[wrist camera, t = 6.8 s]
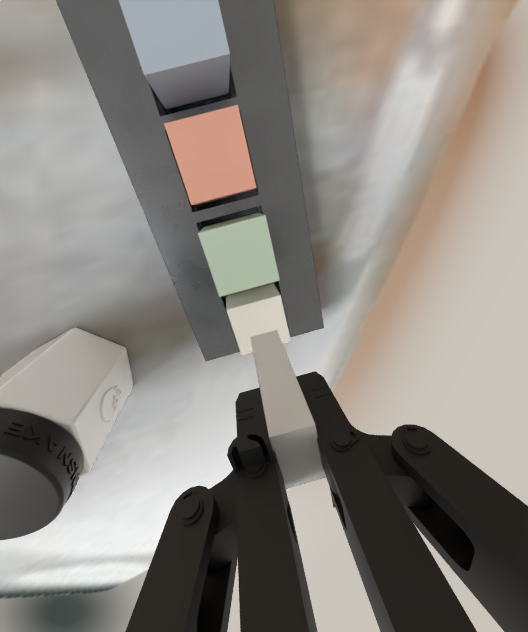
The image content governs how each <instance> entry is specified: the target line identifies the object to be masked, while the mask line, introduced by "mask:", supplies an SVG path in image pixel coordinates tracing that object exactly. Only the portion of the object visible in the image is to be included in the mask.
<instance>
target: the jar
mask: <svg viewBox="0 0 528 632" xmlns="http://www.w3.org/2000/svg"><path fill="white" fill-rule="evenodd" d="M132 388H133V380H132V375H131V370H130V365H129V360H128V355H127V350H126V348H125V347H124V346H121V345H119V344H116V343H113V342H111V341H108V340H106V339H103V338H101V337H98V336H96V335H93V334H91V333H89V332H86V331H84V330H81V329H79V328H72V329H70V330H69V331H67V332H65V333H63V334H62V335H60V336H58V337H56V338H55V339H53V340H51V341H49V342H47V343H46V344H44V345H42V346H40V347H39V348H37V349H35V350H34V351H32V352H31V353H30V354H28V355H27V356H26V357H24V358H23V359H22V360H20V361H19V362H18V363H16V364H15V365H14V366H12V367H11V368H10V369H9V370H7V371H6V372H5V373H3V374H2V375H1V376H0V540H6V539H12V538H17V537H21V536H24V535H27V534H30V533H33V532H35V531H38V530H40V529H41V528H43V527H45V526H46V525H48V524H49V523H50V522H52V521H53V520H54V519H55V518H56V517H57V516H58V514H59V513H60V511H61V510H62V508H63V506H64V504H65V503H66V502H67V501H68V499H69V497H70V496H71V494H72V492H73V490H74V488H75V486H76V485H77V481H78V479H79V477H80V476H82V475H84V474H86V473H88V472H89V471H90V470H91V468H92V466H93V464H94V462H95V460H96V458H97V456H98V454H99V452H100V450H101V448H102V446H103V444H104V443H105V441H106V439H107V437H108V435H109V433H110V431H111V429H112V427H113V425H114V423H115V421H116V419H117V417H118V415H119V413H120V411H121V409H122V407H123V405H124V403H125V401H126V399H127V397H128V395H129V393H130V391H131V390H132Z"/></svg>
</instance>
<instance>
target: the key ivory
mask: <svg viewBox="0 0 528 632" xmlns="http://www.w3.org/2000/svg"><path fill="white" fill-rule="evenodd" d="M226 310H227V313H228V316H229V319H230V322H231V325H232V328H233V331H234V334H235V337H236V340H237V343H238V346H239V349H240V352H241V355H246V354H249V353H253V348H252V343H251V338H250V337H252V336H256V335H259V334H263V333H267V332H270V331H274V330H277V332H278V334H279V337H280V339H281V342H282V344H284V343H288V342H291V339H290V335H289V330H288V326H287V321H286V317H285V312H284V308H283V304H282V299H281V295H280V293H279V292H278V290H277V288H276V287H275V285H274V283H273V282H272V283H268V284H265V285H261V286H258V287H254V288H250V289H247V290H243V291H240V292H236V293H232V294H229V295H226Z"/></svg>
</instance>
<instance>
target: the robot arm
mask: <svg viewBox="0 0 528 632" xmlns="http://www.w3.org/2000/svg"><path fill="white" fill-rule="evenodd" d="M250 338H251V343H252V348H253V354H254V359H255V364H256V370H257V375H258V381H259V386H260V388H257V389H253V390H250V391H246V392H242V393H240V394H239V396H238V398H237V401H236V421H237V438H235V439H234V440H233V442H232V443H231V445H230V447H229V449H228V455H227V456H228V458H229V461H230V463H231V465H232V467H233V471H232V472H231V473H230V474H229V475H228V476H227V477H226V478H225V479H224V480H222V481H221V482H219V483H218V484H216V485H215V486H213V487H212V488H210V489H207V488H206V487H203V486H196V487H192V488H190V489H188V490H186V491H185V492H183V493H182V494H181V495H180V497H179V498H178V499H177V500H176V501H175V503H174V505H173V507H172V509H171V511H170V513H169V516H168V519H167V521H166V524H165V527H164V529H163V532H162V535H161V538H160V540H159V543H158V546H157V548H156V551H155V554H154V556H153V559H152V562H151V564H150V567H149V570H148V573H147V575H146V578H145V581H144V583H143V586H142V589H141V592H140V594H139V597H138V600H137V602H136V605H135V608H134V610H133V613H132V616H131V619H130V621H129V624H128V627H127V629H126V632H227V629H228V621H229V614H230V607H231V600H232V593H233V586H234V579H235V572H236V565H237V558H238V573H239V600H240V625H241V626H240V628H241V632H317V628H316V623H315V619H314V614H313V609H312V605H311V600H310V595H309V591H308V586H307V581H306V577H305V572H304V568H303V563H302V558H301V554H300V549H299V545H298V540H297V536H296V531H295V526H294V521H293V517H292V512H291V508H290V505H289V501H288V498H287V493H286V489H288V488H291V487H294V486H297V485H301V484H305V483H308V482H312V481H315V480H318V479H322V478H325V477H327V480H328V483H329V485H330V490H331V496H332V501H333V507H336V509H337V512H338V515H339V517H340V520H341V523H342V526H343V529H344V531H345V534H346V537H347V540H348V543H349V545H350V548H351V551H352V553H353V556H354V559H355V562H356V565H357V568H358V570H359V573H360V576H361V579H362V581H363V584H364V587H365V590H366V592H367V595H368V598H369V601H370V603H371V606H372V609H373V612H374V614H375V617H376V620H377V623H378V626H379V629H380V631H381V632H477V631H476V629H475V628H474V626H473V624H472V622H471V621H470V619H469V617H468V616H467V614H466V612H465V611H464V609H463V607H462V606H461V604H460V602H459V600H458V599H457V597H456V595H455V594H454V592H453V590H452V589H451V587H450V585H449V583H448V581H447V580H446V578H445V576H444V575H443V573H442V571H441V570H440V568H439V566H438V564H437V563H436V561H435V559H434V558H433V556H432V554H431V552H430V551H429V549H428V547H427V546H426V544H425V542H424V541H423V539H422V537H421V536H420V534H419V532H418V530H417V529H416V527H417V528H418V529H419V530H420V531H421V533H422V534H423V535H424V536H425V537H426V538H427V540H428V541H429V542H430V543H431V545H432V546H433V547H434V548H435V549H436V550H437V552H438V553H439V554H440V555H441V556H442V558H443V559H444V560H445V561H446V562H447V564H448V565H449V566H450V567H451V568H452V570H453V571H454V572H455V573H456V574H457V576H458V577H459V578H460V579H461V580H462V581H463V583H464V584H465V585H466V586H467V587H468V588H469V590H470V591H471V592H472V593H473V595H474V596H475V597H476V598H477V599H478V600H479V602H480V603H481V604H482V605H483V606H484V607H485V609H486V610H487V611H488V612H489V614H490V615H491V616H492V617H493V618H494V620H495V621H496V622H497V623H498V624H499V626H500V627H501V628H502V629H503V630H504V632H528V506H527V505H525V504H524V503H523V502H522V501H520V500H519V499H518V498H516V497H515V496H514V495H513V494H511V493H510V492H509V491H507V490H506V489H505V488H504V487H502V486H501V485H500V484H498V483H497V482H496V481H495V480H493V479H492V478H491V477H489V476H488V475H487V474H485V473H484V472H483V471H482V470H480V469H479V468H478V467H477V466H475V465H474V464H472V463H471V462H470V461H469V460H467V459H466V458H465V457H464V456H462V455H461V454H460V453H458V452H457V451H456V450H454V449H453V448H452V447H451V446H449V445H448V444H447V443H446V442H444V441H443V440H442V439H440V438H439V437H438V436H437V435H435V434H434V433H432V432H431V431H429V430H427V429H426V428H424V427H420V426H417V425H403V426H400V427H397V428H396V429H395V430H394V431H393V433H392V436H384V435H381V436H380V435H369V434H366V433H363V432H360V431H359V430H357V429H355V428H354V427H353V426H352V425H351V424H350V423H349V421H348V419H347V418H346V416H345V414H344V412H343V411H342V409H341V407H340V406H339V404H338V402H337V400H336V398H335V397H334V395H333V393H332V391H331V389H330V388H329V386H328V384H327V382H326V381H325V379H324V377H322V376H321V375H320V374H318V373H317V372H311V373H308V374H304V375H301V376H297V377H296V376H295V373H294V371H293V369H292V366H291V364H290V361H289V359H288V356H287V354H286V351H285V349H284V346H283V344H282V342H281V339H280V337H279V334H278V332H277V330H274V331H270V332H267V333H263V334H259V335H256V336H252V337H250ZM325 475H326V476H325ZM413 523H414V524H415V525H416V527H415V525H414V524H413Z"/></svg>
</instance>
